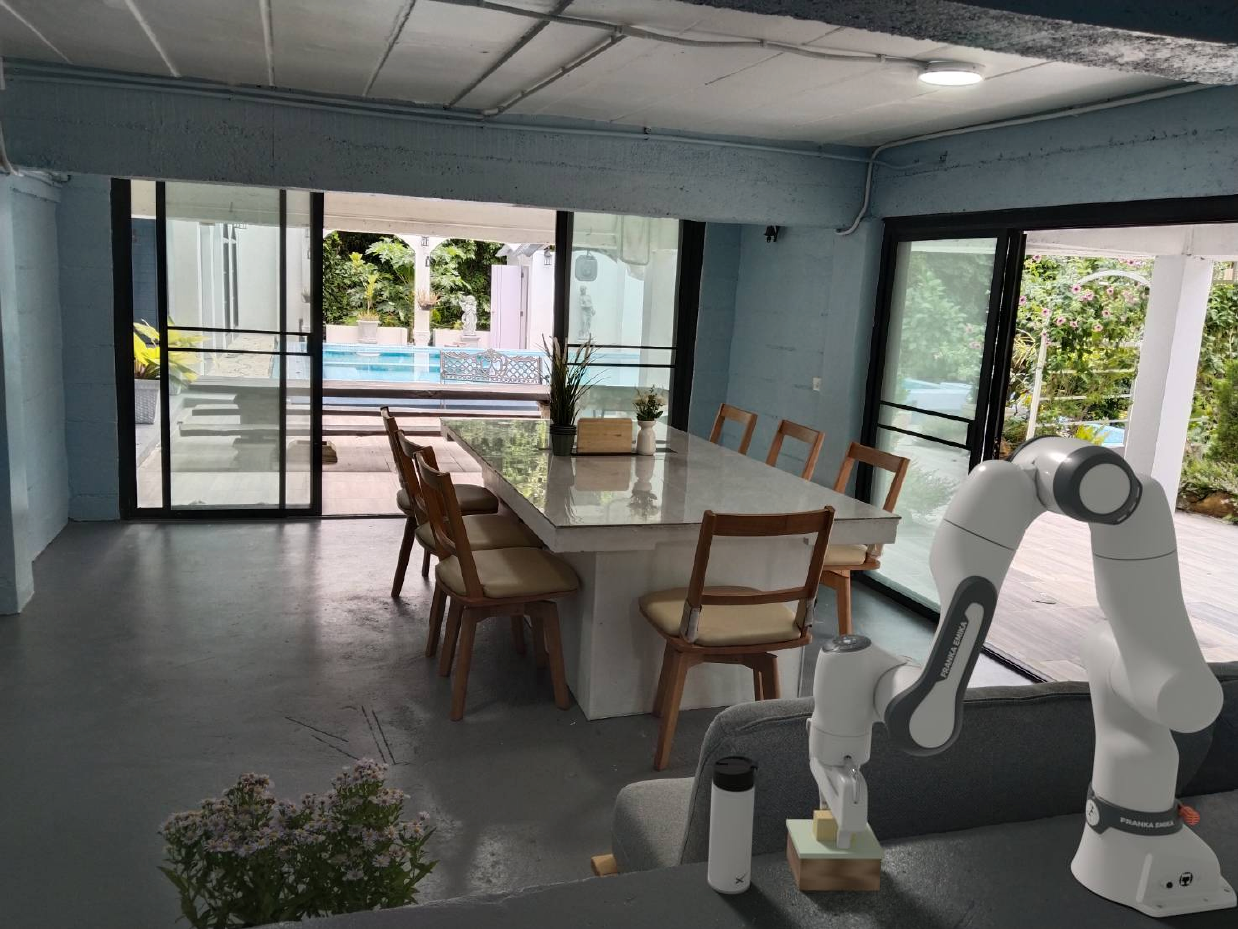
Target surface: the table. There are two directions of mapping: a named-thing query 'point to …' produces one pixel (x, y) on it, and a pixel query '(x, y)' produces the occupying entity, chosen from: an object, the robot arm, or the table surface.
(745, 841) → the travel mug
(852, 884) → the walnut box
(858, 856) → the lid
